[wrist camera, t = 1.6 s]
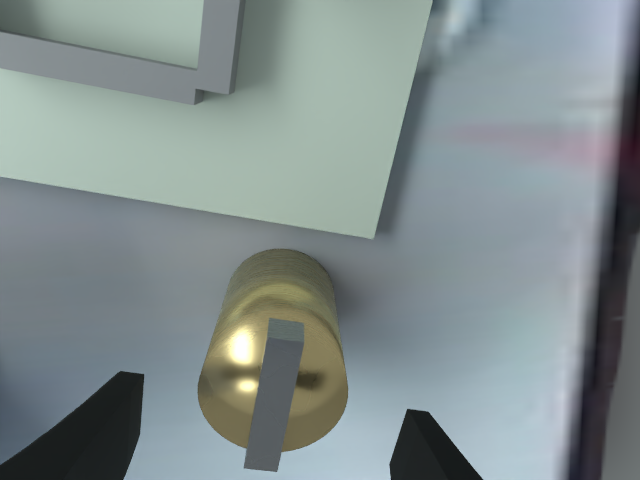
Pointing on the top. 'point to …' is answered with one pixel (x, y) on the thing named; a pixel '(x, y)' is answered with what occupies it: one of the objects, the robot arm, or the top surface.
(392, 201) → the top surface
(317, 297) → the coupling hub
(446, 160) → the top surface
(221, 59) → the bench plate
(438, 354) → the top surface
